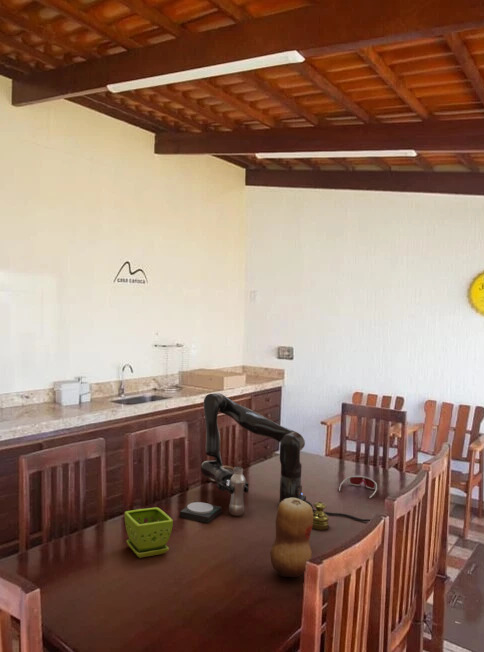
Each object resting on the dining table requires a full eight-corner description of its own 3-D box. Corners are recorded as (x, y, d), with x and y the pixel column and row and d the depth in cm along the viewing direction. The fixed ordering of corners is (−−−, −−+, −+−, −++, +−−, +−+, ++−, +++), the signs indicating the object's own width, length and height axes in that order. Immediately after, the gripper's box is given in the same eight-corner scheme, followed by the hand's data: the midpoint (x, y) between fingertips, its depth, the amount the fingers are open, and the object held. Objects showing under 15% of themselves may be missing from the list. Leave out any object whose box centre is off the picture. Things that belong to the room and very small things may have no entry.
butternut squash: (301, 590, 169) (305, 511, 168) (263, 577, 176) (266, 501, 175) (316, 572, 180) (320, 499, 180) (279, 561, 187) (283, 490, 187)
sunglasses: (381, 489, 271) (381, 479, 270) (372, 504, 257) (372, 494, 256) (347, 482, 280) (347, 473, 279) (336, 496, 266) (336, 486, 265)
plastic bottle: (227, 511, 232) (229, 465, 232) (243, 511, 233) (244, 466, 232) (229, 517, 226) (231, 470, 225) (245, 517, 226) (247, 470, 226)
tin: (235, 482, 273) (236, 465, 273) (235, 484, 270) (236, 467, 270) (206, 479, 275) (207, 463, 275) (206, 481, 272) (206, 465, 272)
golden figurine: (328, 531, 215) (329, 506, 215) (309, 529, 217) (310, 504, 217) (327, 524, 223) (329, 500, 222) (309, 522, 224) (310, 498, 224)
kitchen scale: (221, 512, 231) (221, 505, 231) (208, 523, 219) (208, 515, 218) (194, 506, 237) (194, 499, 237) (179, 516, 224) (180, 509, 224)
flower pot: (135, 562, 182) (137, 525, 182) (121, 545, 195) (123, 511, 194) (173, 555, 189) (174, 519, 189) (157, 539, 201) (158, 506, 201)
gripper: (210, 471, 240) (224, 483, 224) (239, 469, 245) (255, 481, 229) (209, 488, 240) (223, 501, 224) (239, 485, 245) (255, 498, 229)
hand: (239, 490), depth 227 cm, fingers closed on plastic bottle, 6 cm apart
